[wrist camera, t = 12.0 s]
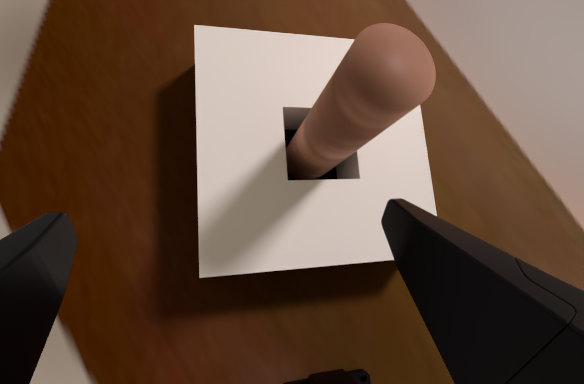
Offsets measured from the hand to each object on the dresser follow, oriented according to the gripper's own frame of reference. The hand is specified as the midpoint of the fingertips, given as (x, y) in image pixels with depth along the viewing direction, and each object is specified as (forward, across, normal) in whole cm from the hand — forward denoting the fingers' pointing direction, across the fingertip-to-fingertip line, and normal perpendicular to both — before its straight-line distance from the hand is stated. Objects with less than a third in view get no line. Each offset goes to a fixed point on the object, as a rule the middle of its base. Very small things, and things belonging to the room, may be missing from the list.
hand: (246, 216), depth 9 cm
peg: (+14, -6, +6) cm, 16 cm away
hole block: (+14, -6, +6) cm, 16 cm away
